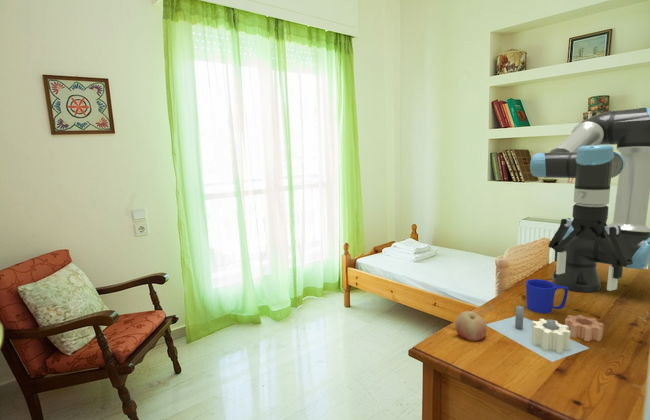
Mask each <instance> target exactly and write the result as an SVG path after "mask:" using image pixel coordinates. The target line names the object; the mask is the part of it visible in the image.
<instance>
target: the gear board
mask: <svg viewBox="0 0 650 420" xmlns="http://www.w3.org/2000/svg"><path fill="white" fill-rule="evenodd" d="M524 311H525V307H524V306H523V305H516V306H515V315H514V316H511V317H508V318H504V319H501V320H497V321H493V322H490V323H486V326H487V327H488V328H490V329H493V330H494V331H495V332H497V333H499V334H501V335H503V336H504V337H506V338H508V339H510V340H512V341H513V342H515V343H517V344H519V345H521V346H523V347H524V348H525V349H528V350H530V351H531V352H533V353H535V354H537V355H538V356H540V357H542V358H543V359H545V360H548V361H549V362H551V363H553V362H556V361H558V360H562V359H564V358H567V357H569V356H573V355H575V354H577V353H580V352H583V351H587V350H589V349H590V347H588V346H586V345H584V344H582V343H579V342H578V341H576V340H573V339H571V338H570V346H569V350H564V349H563V350H562V353H557V352H556V351H552V350H548V351H545V350H542V347H540V346H539V345H534V344H533V343H532V339H531V334H532V322H533V321H534V320H532V319H529V318H527V317H524V314H525V313H524ZM546 320H547V325H546V328H547V329H550V330H555V325H556V322H555V321H556V320H555V321H554V319H551V318H550V319H546Z"/></svg>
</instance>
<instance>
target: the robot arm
mask: <svg viewBox="0 0 650 420" xmlns="http://www.w3.org/2000/svg"><path fill="white" fill-rule="evenodd" d="M612 145H616V151H614V147H613V146H612ZM617 151H618V152H617ZM529 169H530V171H529V172H530V174H531V175H532V176H533V177H536V178H544V179H545V178H546V179H549V178H551V179H552V178H553V179H561V178H562V179H574V191H573V203H575V204H574V205H572V218H573V219H571V218H569V217H567V218H561V219H560V224H559V225H560V226H559V227H558V228H557V231H555V233H554V235H553V237H552V238H551V240H550V242H549V243H548V245H547V246H548V248H550V249H553V250H554V262H556V267H555V271H554V272H553V274H552V277H551V278H552V281H551V282H552V283H553V284H555V286H565V287H568V291H573V292H579V293H593V292H598V291H600V290H601V286H602V285H601V284H602V283H601V282H602V281H601V280H600V276H599V273H598V270H597V269H598V268H597V264H605V265H609V266H608V272H607V273H608V275H607V284H606V290H607V291H609V292H610V291H615V290H618V284H619V283H618V281H619V279H621V278H622V277H623V269H624V268H625V269H633V270H643V269H645V268H646V267H648V265H649V264H650V228H649V227H648V226H646V224H647V217H648V209H649V201H650V107H649V106H646V107H640V108H631V109H630V108H629V109H621V110H610V111H604V112H601V113H598V114H595V115H593V116H591V117H588V118H586V119H585V120H582V121H581V122H579V123H578V124H577V125H576V126H574V127H573V129H572V131H571V134H570V135H568V136H567V137H566V138H565V139H562V141H561V142H560V143H559V144H557V145H556V146H555V147H553V148H552V149H551V150H550V151H548V152H538V153H534V154H533V156H532V157H531V159H530V164H529ZM617 176H618V180H617V185H616V186H617V188H616V195H615V196H616V197H615V203H614V211H613V219H612V223H610V224H609V225H607V221H608V218H609V206H608V204H610V197H611V194H610V192H611V184H612V183H611V180H612V179H613V178H615V177H617Z"/></svg>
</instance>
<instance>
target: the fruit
mask: <svg viewBox="0 0 650 420" xmlns="http://www.w3.org/2000/svg"><path fill="white" fill-rule="evenodd" d="M486 324H487V323H486V321H485V319H484V318H483V317H481V316H480V315H478V313H476V312H475V311H472V310H471V311H470V310H468V311H467V310H465V311H462V312H461V313H459V314H458V315H457V317H456V319H455V323H454V327H455V331H456V333H457V335H458V336H459V337H460V338H463V339H465V340H468V341H472V342H476V341H481V340H483V339H484V338H485V336H486V334H487V331H488V328H487V327H488V326H486Z"/></svg>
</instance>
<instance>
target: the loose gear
mask: <svg viewBox="0 0 650 420" xmlns="http://www.w3.org/2000/svg"><path fill="white" fill-rule="evenodd" d="M564 325H567V326H568V327H569V331H571V333H570V337H572V338H575V339H576V338H579V339H583V340H584V342H591V341H594V340H595V341H597V342H599V341H602V338H603V337H604V326H605V324H604V323H603V322H599V321H598V320H597V319H596V317H595V318H594V317H586V316H584V315H583V314H577V315H571V314H569V315H567V316H566V318H564Z"/></svg>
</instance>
